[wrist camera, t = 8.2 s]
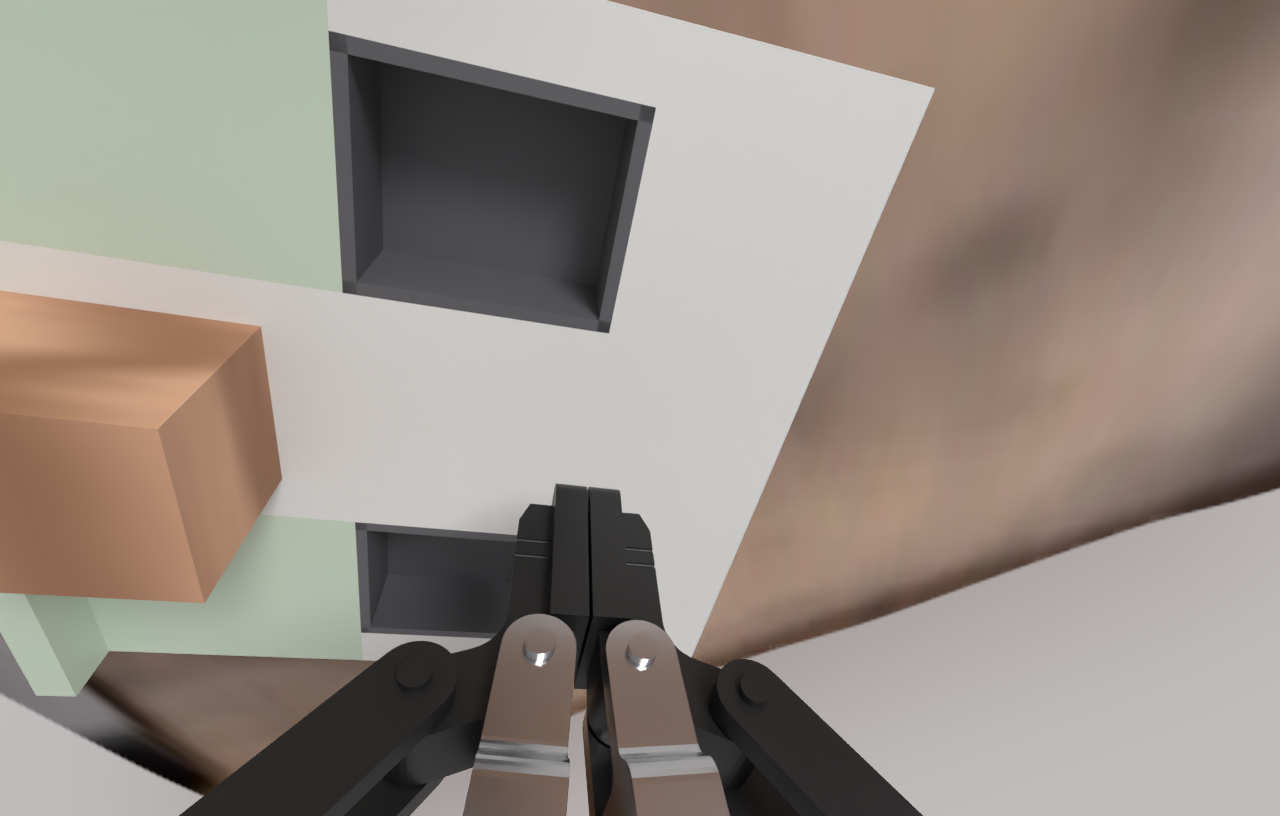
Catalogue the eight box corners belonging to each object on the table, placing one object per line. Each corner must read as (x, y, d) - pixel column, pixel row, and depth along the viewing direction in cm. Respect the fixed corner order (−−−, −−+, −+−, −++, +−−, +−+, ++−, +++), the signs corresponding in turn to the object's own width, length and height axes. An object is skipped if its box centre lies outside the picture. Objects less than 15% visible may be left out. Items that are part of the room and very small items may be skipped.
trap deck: (881, 78, 14) (977, 96, 11) (675, 616, 24) (691, 710, 21) (-167, -202, 10) (-533, -310, 7) (123, 585, 20) (36, 695, 17)
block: (261, 326, 13) (157, 429, 10) (282, 478, 16) (204, 602, 12) (-4, 289, 12) (-217, 390, 9) (62, 458, 15) (-88, 588, 11)
